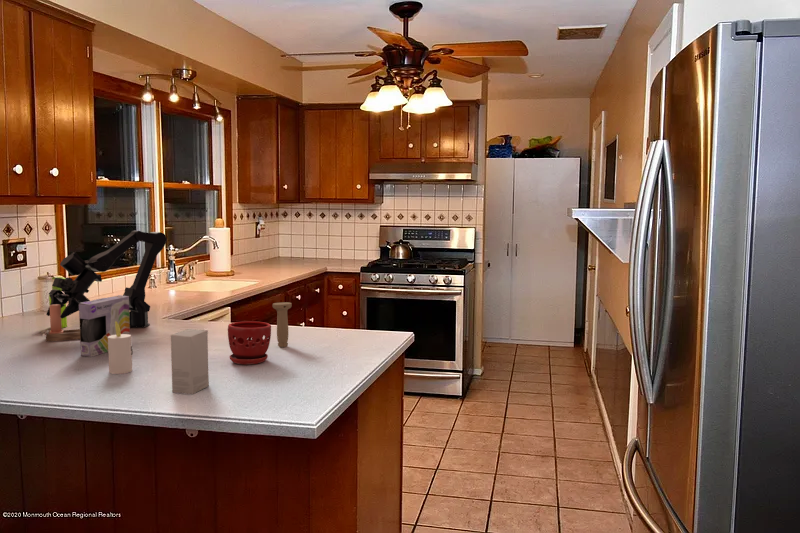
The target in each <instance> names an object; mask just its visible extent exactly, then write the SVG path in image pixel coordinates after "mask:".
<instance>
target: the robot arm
mask: <svg viewBox="0 0 800 533" xmlns="http://www.w3.org/2000/svg"><path fill="white" fill-rule="evenodd" d="M167 241H168V238H167V235H165V233H163V232H162V231H161V232H160V231H151V232H145V231H141V230H131V232H130V233H129V234H127V235H126V236H125V237H123V238H122V239H121V240H119V241H118V242H117V243H116V244H114V245H113V246H111V247H110V248H109V249H107V250H105V251H102V252H100V253H97V254H95V255H93V256H92V257H90V258H89V259H87V260H84V259H82V258H81V257H80V255H79V254H78V253H77V252H74V251H73V252H72V253H70V254H69V255H67V256H66V257H64V258H63V259H62V260H61V261H60V264H59V265H60V267H62V268H63V269H64V270H65V271H67V273H69V274H70V275H71V276H75V275H76V277H75V278H74V280H73V279H72V278H71V277H65V278H66V279H62V278H55V279H53V280H54V281H53V282H52V286H54V287H55V286H56V287H58V288H61V289H62V290H52V289H51V290H50V291H49V293H48V296H49V295H50V298H51V304H50V305H54V304H60V305H61V308H62V307H63V306H65V305H64V304H66V308H65V310H64V311H63V313H62V314H61V316H60V317H61V318H62V319H63V318H65V317H67V318H68V316H70V315H73V314H74V313H77V312H79V303H81V302H87V301H91V300H90V299H89V298H88V297H87V296H86V295H84V294H87V293H89V292H90V290H89V288H90V287H91V286H92V285H93V283H95V282H97V283H98V282H102V281H103V279H102V274H98V273H99V272H100V273H104V272H106V271H109V269H110V268H111V267H112V266H113V265H114V263H115V262H116V260H117V259H118V258H119V257H120V256H121V255H123V254H125V253H126V252H127V251H128V250H130V249H131V248H133V246H134V245H136V244H138V243H139V242H143V243H144V253H143V256H142V259H141V261H140V265H139V268H138V269H137V272H136V275H135V276H134V277H135V278H134V279H133V282H132V285H131V286H130V287H128V286H127V287H125V289H124V292H123V294H122V296H129V320H130V328H145V327H148V326H150V324H151V323H149V312H150V309H151V306H150V304H148V303H147V302H146V285H147V283H148V280H149V278H150V276H151V272H152V269H153V268H154V264H155V261H156V259H157V256H158V254H160V252H161V251H163V249H164V247H165V245H166V244H167ZM97 272H98V273H97ZM52 286H51V287H52ZM67 303H68V304H67ZM46 316H47V317H50V306H48V310H47V312H46Z"/></svg>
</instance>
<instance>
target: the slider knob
mask: <svg viewBox="0 0 800 533" xmlns="http://www.w3.org/2000/svg"><path fill="white" fill-rule="evenodd" d="M49 306H50V316H49V322H50V330H49V331H50V332H49V334H58V333H63V330H64V329H63V328H62V323H61V317H60V316H61V305H60V304H54V305H49ZM49 306H48V307H49Z"/></svg>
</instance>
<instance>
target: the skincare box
mask: <svg viewBox="0 0 800 533" xmlns="http://www.w3.org/2000/svg"><path fill="white" fill-rule="evenodd" d="M208 331H209V330H208V329H198V328H197V329H194V328H187V329H184V330H181V331H177V332H175V333H173V334H170V352H171V353H170V356H171V359H170V360H171V387H172V388H171V390H172V393H175V394H185V395H186V394H187V395H195V393H198V392H200V391H202V390H204V389H206V388H208V387H209V386H210V385H209V384H210V381H209V379H210V377H209V376H210V374H209V353H208V352H209V342H208V341H209V340H208V339H209V338H208V333H209V332H208Z"/></svg>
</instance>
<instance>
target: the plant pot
mask: <svg viewBox="0 0 800 533" xmlns="http://www.w3.org/2000/svg"><path fill="white" fill-rule="evenodd" d="M271 336H272V325H271V324H270V323H268V322H263V321H236V322H230V323H229V324H228V325H227V339H228V346H229V349H230V351H231V353H232V354H230V355H229V360H230V361H231V362H232V363H234V364H236V365H244V366H245V365H246V366H248V365H251V366H252V365H257V364H261V363H264V362H265V361H266V360H268V357H269V355H268V354H267V351H268V349H269V347H270V342H271ZM263 337H264V338H263Z"/></svg>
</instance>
